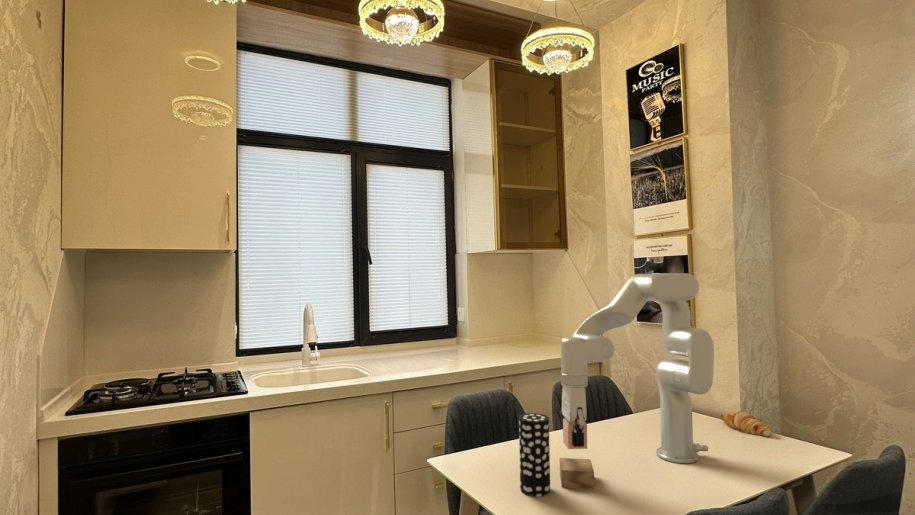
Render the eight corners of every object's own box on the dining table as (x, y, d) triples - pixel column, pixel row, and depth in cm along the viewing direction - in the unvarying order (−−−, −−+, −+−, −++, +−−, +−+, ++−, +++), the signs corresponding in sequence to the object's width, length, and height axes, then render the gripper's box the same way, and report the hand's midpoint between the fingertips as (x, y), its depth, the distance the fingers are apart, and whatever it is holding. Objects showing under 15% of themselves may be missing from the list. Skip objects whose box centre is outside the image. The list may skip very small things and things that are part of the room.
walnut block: (590, 476, 144) (590, 459, 144) (594, 489, 135) (594, 471, 135) (559, 474, 145) (559, 457, 146) (561, 487, 136) (561, 469, 137)
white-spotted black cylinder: (517, 484, 139) (516, 413, 139) (545, 482, 139) (544, 412, 140) (523, 497, 130) (522, 422, 131) (553, 495, 131) (552, 421, 132)
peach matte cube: (563, 442, 143) (563, 418, 143) (581, 442, 143) (581, 418, 144) (568, 449, 138) (567, 424, 138) (587, 448, 138) (587, 423, 138)
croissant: (777, 447, 174) (784, 426, 176) (760, 437, 171) (767, 416, 173) (725, 428, 194) (732, 410, 196) (709, 419, 191) (716, 400, 192)
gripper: (554, 373, 150) (555, 433, 149) (569, 386, 132) (570, 453, 132) (578, 373, 150) (579, 432, 149) (596, 386, 133) (597, 453, 132)
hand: (575, 441), depth 140 cm, fingers closed on peach matte cube, 5 cm apart
